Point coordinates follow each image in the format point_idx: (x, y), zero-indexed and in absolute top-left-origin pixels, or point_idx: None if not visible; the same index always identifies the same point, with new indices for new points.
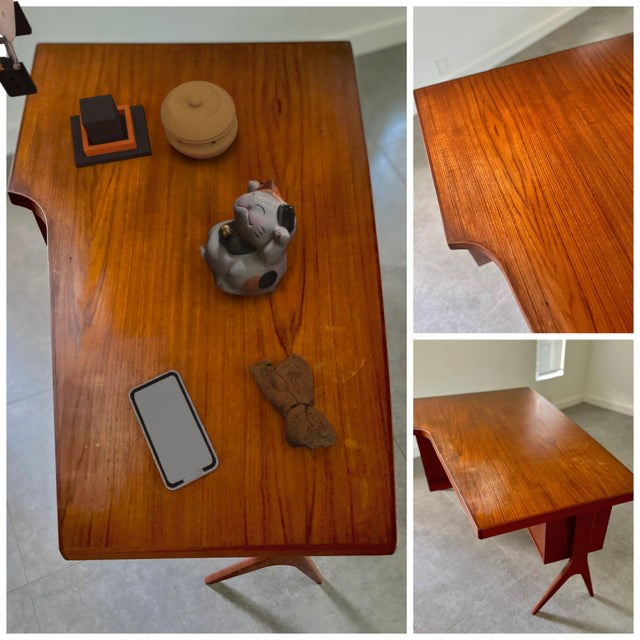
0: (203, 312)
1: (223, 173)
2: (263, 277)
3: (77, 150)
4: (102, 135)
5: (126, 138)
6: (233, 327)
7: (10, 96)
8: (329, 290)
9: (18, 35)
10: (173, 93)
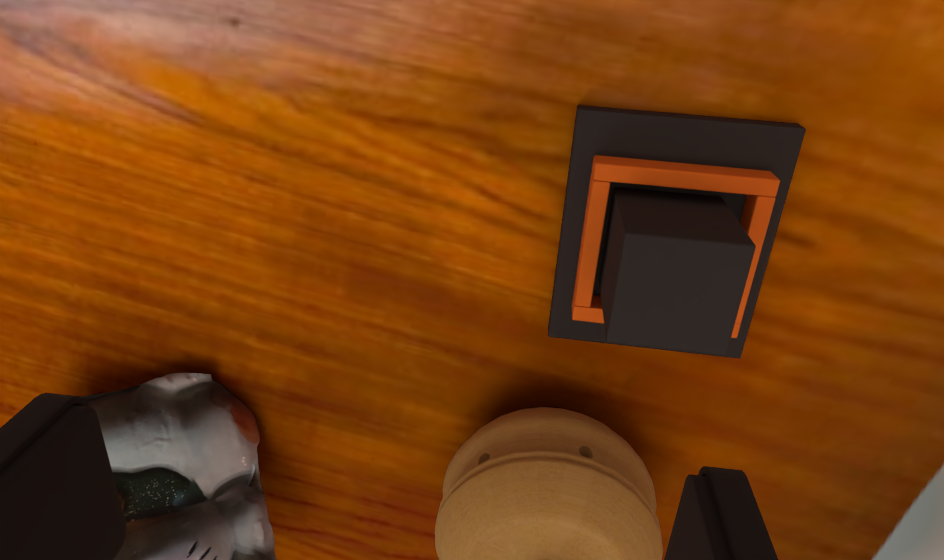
0: (51, 320)
1: (430, 465)
2: None
3: (635, 127)
4: (610, 250)
5: None
6: (15, 366)
7: (52, 394)
8: None
9: (669, 543)
10: (605, 540)
